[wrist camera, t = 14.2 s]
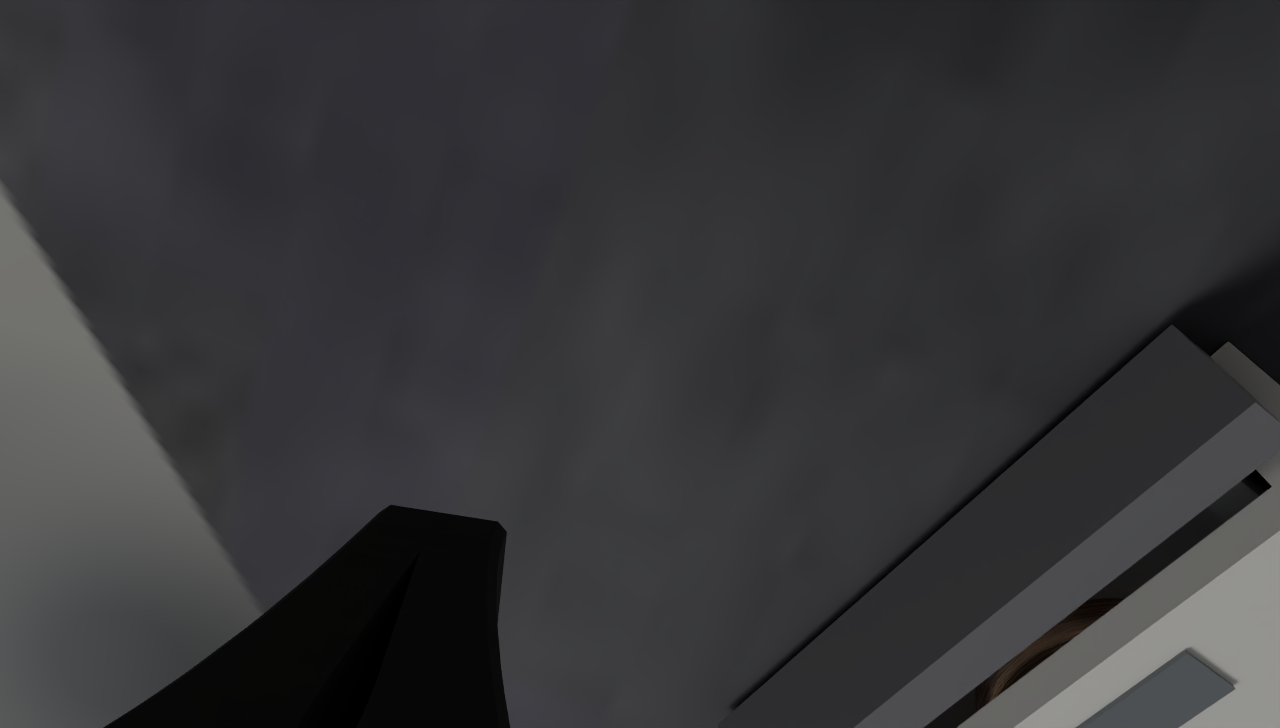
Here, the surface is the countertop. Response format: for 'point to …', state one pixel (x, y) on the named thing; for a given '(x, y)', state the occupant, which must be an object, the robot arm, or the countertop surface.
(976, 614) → the tray
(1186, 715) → the player
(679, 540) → the countertop surface
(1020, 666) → the disc
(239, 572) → the countertop surface
